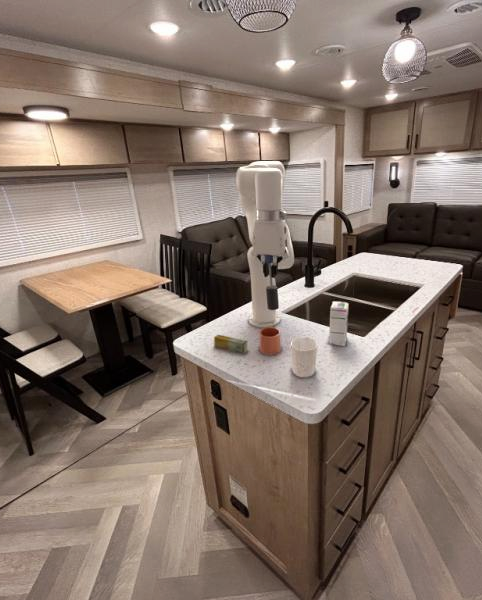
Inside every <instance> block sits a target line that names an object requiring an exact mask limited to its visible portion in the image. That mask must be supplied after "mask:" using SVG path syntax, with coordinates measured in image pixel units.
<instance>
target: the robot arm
mask: <svg viewBox="0 0 482 600" xmlns="http://www.w3.org/2000/svg"><path fill="white" fill-rule="evenodd" d="M285 182H286V168H285V166H284V164H283V163H282V162H281V161H277V160H272V161H271V160H270V161H269V160H268V161H267V160H266V161H253V162H251V163H249V165H244V166H239V168H237V170H236V175H235V184H236V189H237V191H238V199H239V205H240V208H241V210H242V212H243V214H244V216H245V218H246V222H247V230H248V238H249V243H250V244H251V245H252V246H251V247H249V248H248V250H247V255H246V257H247V262H248V269H249V273H250V275H249V276H250V289H251V290H250V291H251V309H252V310H251V311H252V315H250V316H249V318H248V322H249V323H250V325H252V326H254V327H257V328H267V327H275V326H276V325H278V324H279V323H280V322H281V321H280V320H281V318H280V316H279V314H277V309H276V310H269V309H268V307H267V295H266V287H267V286H270V276H269V264H268V263H266V255H273V263H271V277H272V282H273V286H276V279H275V277H277V276H278V275H279V270H285V269H291V267H293V265H294V263H295V254H294V253H295V252H294V248H293V243H292V242H293V241H292V237H291V232H290V229H289V226H288V224H287V222H286V220H285V219H284V218H287V217H288V212H287V211H284V209H283V192H284V188H285Z"/></svg>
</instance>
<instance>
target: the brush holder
mask: <svg viewBox="0 0 482 600" xmlns="http://www.w3.org/2000/svg"><path fill="white" fill-rule="evenodd" d="M258 334H259V351H260V352H261V353H262V354H264V355H269V356H271V355H276V354H278V353H279V352H281V351H282V336H281V335H282V331H281V330H280V329H279V328H278V327H275V326H271V327H262V328H261V329H260V330H259V333H258Z"/></svg>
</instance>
